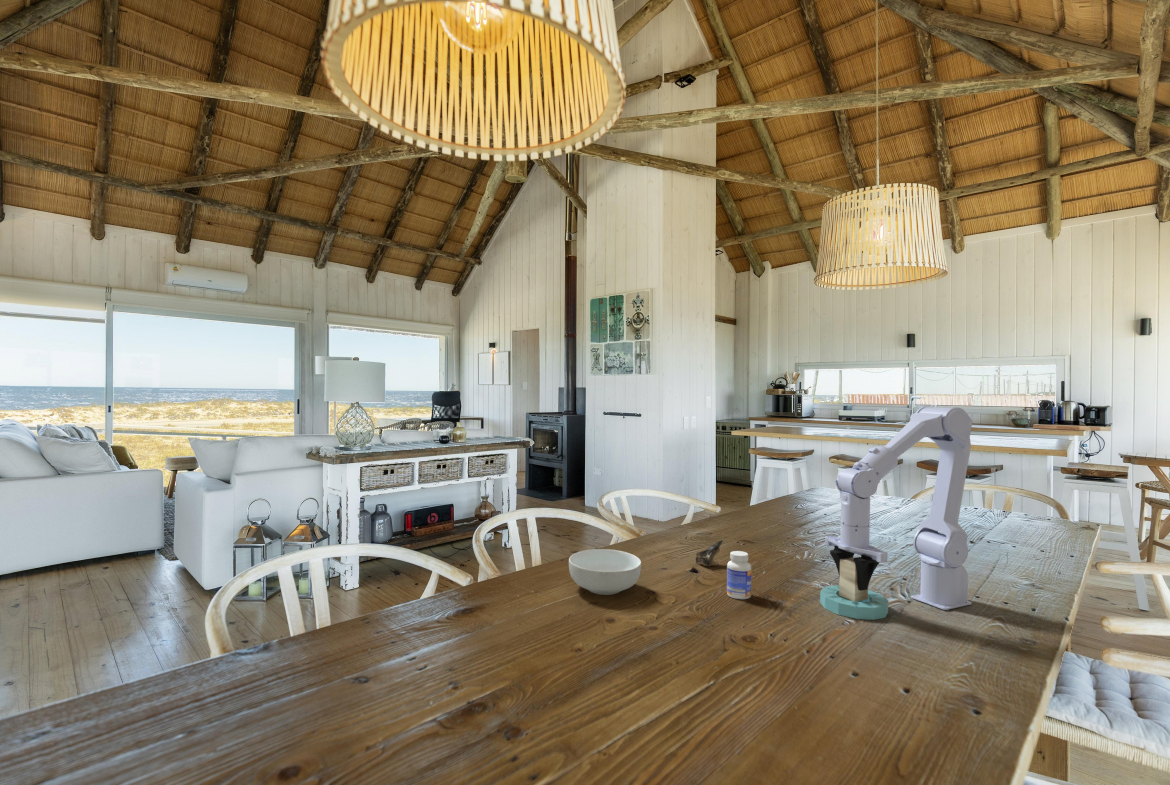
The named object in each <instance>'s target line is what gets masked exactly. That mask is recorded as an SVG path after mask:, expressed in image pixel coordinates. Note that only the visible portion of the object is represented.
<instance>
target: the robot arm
mask: <svg viewBox="0 0 1170 785" xmlns="http://www.w3.org/2000/svg"><path fill="white" fill-rule="evenodd" d="M909 417H910V420H909V421H908V422H906V424H905V425H904V426H903V427H902V428H901V429H900V430H899V431H898V432H897V433H896V434H895V435H894V436H893V437H892V438H891V440H889V441H888V442H887V444H885V445H884V446H883V445H882V446H880V445H877V446H875V447H873V446H872V447H870V448H869V449H868V453H866V455H865V456H863V457H862V458H861V459H859V461H856V462H854V463H853V466H852V467H848V468H845V469H843V470H841V472H839V474H838V476H837V479H835V481H834V482H835V487H836V489H837V490H838V491H839V499H841V500H840V537H837V536H834V535H827V536H825V537H824V545H825V546H827V547H833V549H830V550H829V555H830V556H831V558H832V560H833V561H834V563H835V567H836V570H837V573H838V576H839V578H840V559H844V558H851V557H854V556H855V555H857V557H854V562H855V565H856V570H857V585H858V590H860V591H863V590H867V589H868V590H869V584H870V582H871V578H872V577H873V574H874V572H875V570H876V568H878V565H879V564H882V563H887V562H888V552H887V551H883V550H881V549H878V548H877V547H875V546H873V545H871V544H870V531H871V530H870V529H871V528H870V527H871V526H870V524H871V521H870V520H871V497H872V496H874V495H875V494H876V492H877V491H878V486H879V484H880V483H881V480H883V478H885V477H886V476H888V474H889V473H890V472H891V471H893V470H894V469H895V468H896V467H898V464H899V463H898V462H899V461H898V458H899V457H900V456H901V455H903V454H904V453H906V452H907V451H909V450H910V449H911V448H912V447H914V446H915V445H916V444H918V443H919V442H920V441H921V440H923V439H924V438H928V439H930V440H932V441H933V442H934V443H935V444H936V446H937V447H938V448H939V449H940V453H939V459H938V465H937V472H936V477H935V481H934V482H935V483H934V488H933V495H932V498H931V506H930V512H929V516H928V517H926V518H925V519H923V520H922V521H921V522H919V526H918V530H917V532H916V533H915V534H914V537H913V540H912V543H913V548H914V550H915V551H916V553H917V554H918V559H920V589H919V590H920V593H918V594H914V595H911V599H913V600H916V601H919V602H922V603H924V604H926V605H930V606H932V607H934V608H938V609H941V610H943V611H948V610H952V609H957V608H961V607H966V606H970V605H972V601H970V600H968V599H969V597H968V596H969V595H968V594H969V592H968V588H969V574H968V571H967V569H966V568H965V566H964V565H963V564H964V563H965V562H966V561H967V559H968V556H969V547H968V543H967V542H968V534H967V532H966V531H965V530H964V529H963V527H962V526H961V525H960V524H959V520H960V512H961V507H962V503H963V502H962V501H963V495H964V494H963V493H964V488H965V483H966V479H967V478H966V477H967V471H968V465H969V458H970V453H971V448H972V447H971V446H972V444H971V443H972V442H971V432H972V426H973V418H971V417H970V415H969V414H968V413H967V411H966V410H964V409H963V408H961V407H941V406H940V407H934V406H926V405H925V406H922V407H920V408H918V409H917V410H916V411H915V412H914V413H913V414H911V415H910V416H909ZM858 555H860V556H858Z"/></svg>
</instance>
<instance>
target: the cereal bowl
mask: <svg viewBox="0 0 1170 785" xmlns="http://www.w3.org/2000/svg"><path fill="white" fill-rule="evenodd" d="M568 570H569V574H570V577H571V579H572V580H573V581H574V582H575V584H577V585H578V586H579V587H581V588H583V589H585V590H587V591H589V592H591V593H594V594H595V595H601V596H602V595H603V596H607V595H608V596H611V595H616V594H619V593H620V592H623V591H625V590H628V589H630V588H632V587H633V586H634V585H635V584H636V583H637V582H638V580H639V579H640V578H639V577H640V576H641V575H640V574H641V571H642V561H641V559H640V558H639V556H636V555H634V554H632V553H629V552H626V551H623V550H618V549H617V550H616V549H609V548H607V549H606V548H605V549H604V548H601V549H600V548H597V549H586V550H580V551H578V552H575V553H573V554H571V555H570V556H569V558H568Z"/></svg>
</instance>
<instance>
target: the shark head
mask: <svg viewBox="0 0 1170 785" xmlns="http://www.w3.org/2000/svg"><path fill="white" fill-rule="evenodd" d="M723 542H724V541H723V540H720V541H719V540H718V541H717V542H716V543H714V544H711V545H709V546H708V547H707V548H706V549H705V550H702V551H698V552H696V553H695V554H696V555H695V556H696V557H695V563H696V564H697V565H700V566H701V565H702V566H705V567H711V566H720V563H719V562H718V561H715V556H717V555H718V554H719V553H720V552H721V548H720V547H721V545H722V544H723Z"/></svg>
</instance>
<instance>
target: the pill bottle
mask: <svg viewBox="0 0 1170 785" xmlns="http://www.w3.org/2000/svg"><path fill="white" fill-rule="evenodd" d="M729 554H730V555H729V559H730V560H729V561H728V562H727V565H726V593H727V596H728V597H730V598H733V599H736V600H748V599H750V598H751V597H752V564H751V563H750V562H748V561H749V554H748V552H746V551H743V550H742V551H741V550H732V551H730V553H729Z"/></svg>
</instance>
